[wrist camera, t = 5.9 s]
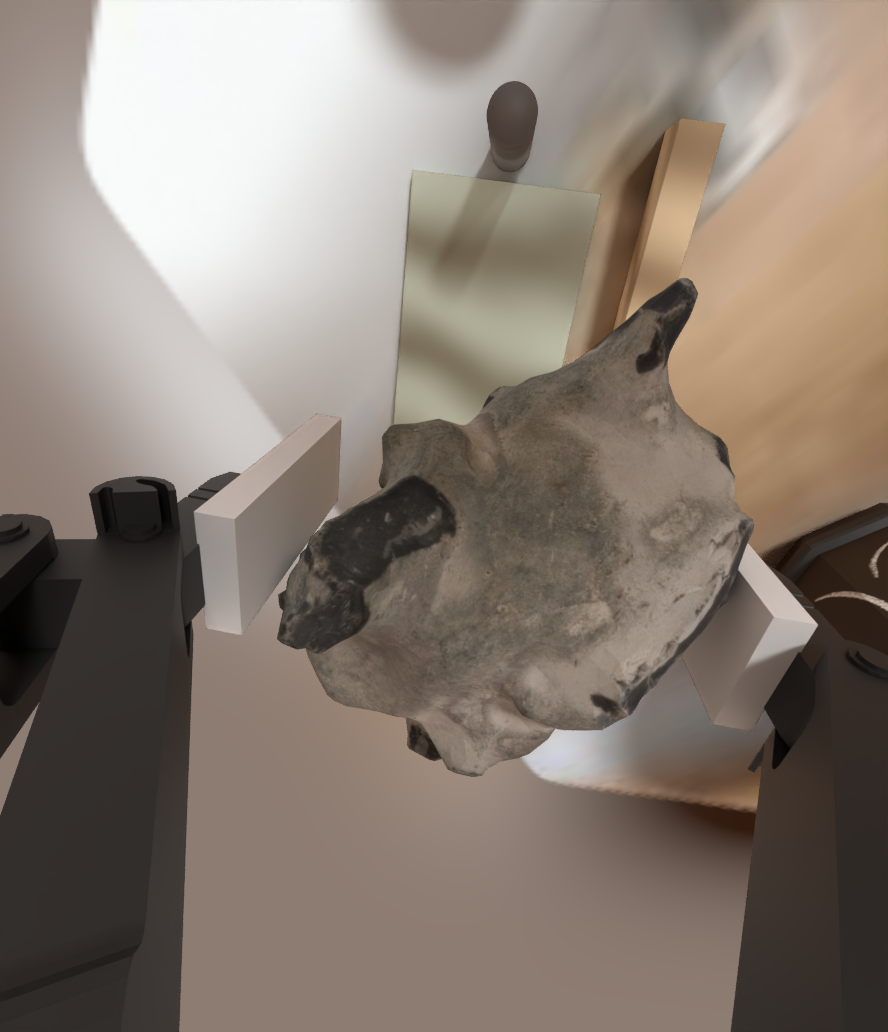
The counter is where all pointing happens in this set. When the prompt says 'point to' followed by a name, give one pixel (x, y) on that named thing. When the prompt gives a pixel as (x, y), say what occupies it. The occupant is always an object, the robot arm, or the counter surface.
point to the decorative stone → (527, 556)
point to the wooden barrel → (847, 575)
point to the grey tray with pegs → (522, 263)
